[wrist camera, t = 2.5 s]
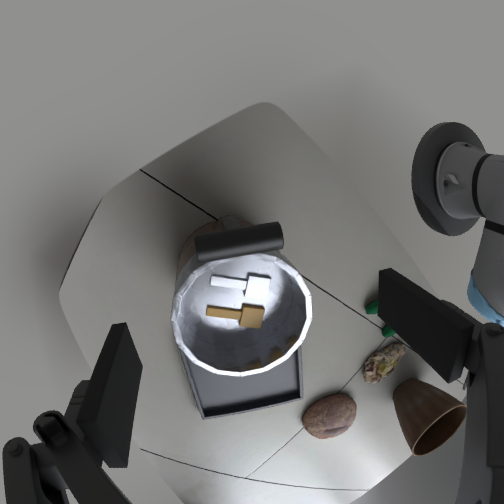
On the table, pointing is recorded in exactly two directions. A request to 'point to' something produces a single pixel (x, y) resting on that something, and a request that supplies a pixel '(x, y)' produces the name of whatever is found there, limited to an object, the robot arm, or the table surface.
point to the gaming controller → (374, 309)
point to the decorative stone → (330, 416)
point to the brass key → (240, 315)
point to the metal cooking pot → (239, 301)
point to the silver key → (245, 285)
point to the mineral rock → (383, 362)
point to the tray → (245, 388)
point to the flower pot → (427, 415)
